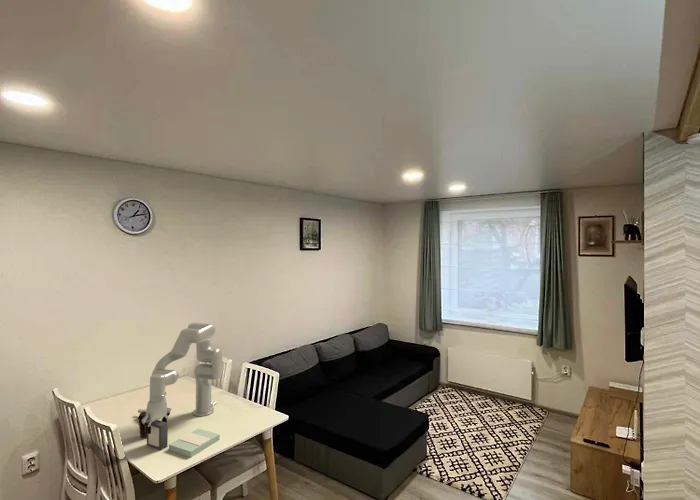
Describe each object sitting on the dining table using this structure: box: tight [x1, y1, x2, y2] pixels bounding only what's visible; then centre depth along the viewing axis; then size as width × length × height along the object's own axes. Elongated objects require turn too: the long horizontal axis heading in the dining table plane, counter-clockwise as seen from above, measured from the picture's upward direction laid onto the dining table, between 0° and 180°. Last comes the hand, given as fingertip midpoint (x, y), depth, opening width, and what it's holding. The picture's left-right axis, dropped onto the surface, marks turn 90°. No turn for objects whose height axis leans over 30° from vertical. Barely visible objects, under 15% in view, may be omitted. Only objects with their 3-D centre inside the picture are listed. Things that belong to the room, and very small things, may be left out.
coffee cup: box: [137, 411, 147, 440], centre depth 216 cm, size 9×8×13 cm
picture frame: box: [146, 419, 169, 451], centre depth 205 cm, size 4×11×13 cm, turn 65°
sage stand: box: [168, 428, 220, 458], centre depth 207 cm, size 20×16×3 cm
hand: (156, 429), depth 204 cm, fingers open, 9 cm apart
